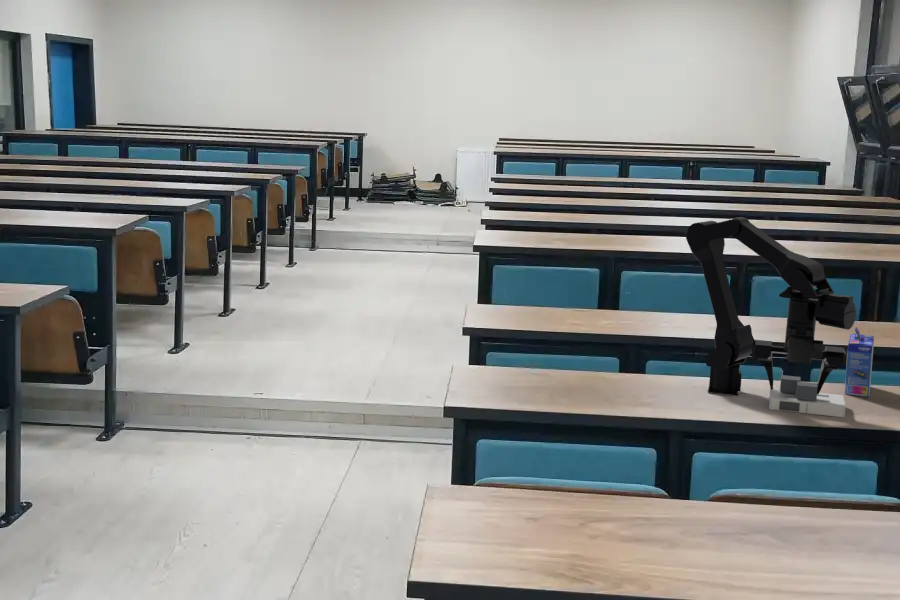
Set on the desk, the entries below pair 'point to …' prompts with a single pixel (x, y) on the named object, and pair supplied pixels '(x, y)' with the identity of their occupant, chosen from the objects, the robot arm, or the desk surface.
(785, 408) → the box
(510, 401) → the desk surface
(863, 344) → the ink cartridge box
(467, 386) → the desk surface
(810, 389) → the switch near
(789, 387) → the switch far
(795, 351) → the robot arm
